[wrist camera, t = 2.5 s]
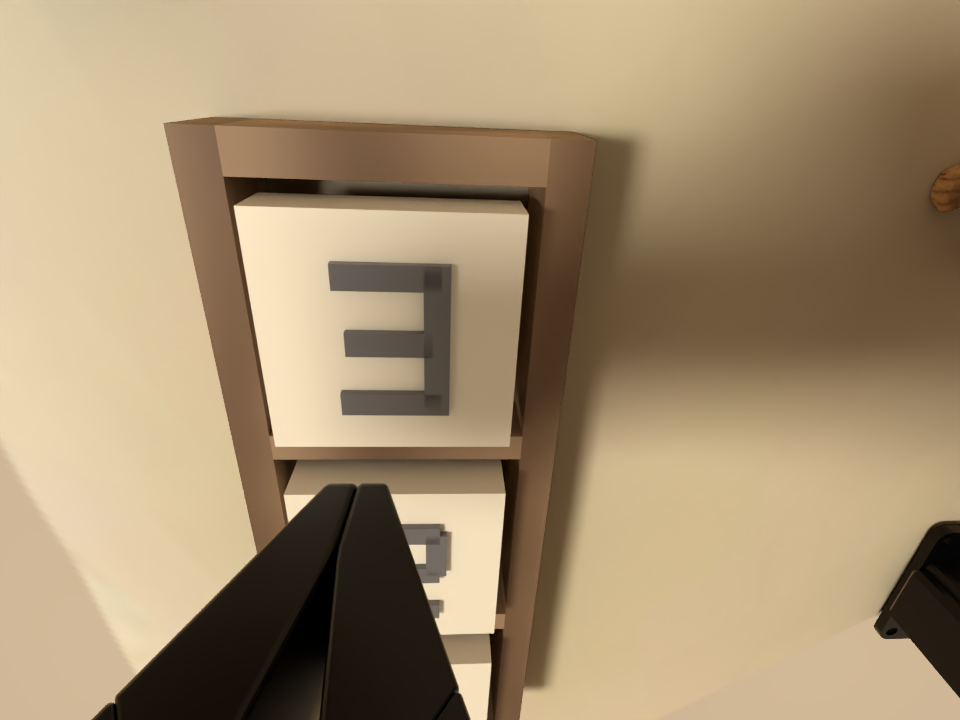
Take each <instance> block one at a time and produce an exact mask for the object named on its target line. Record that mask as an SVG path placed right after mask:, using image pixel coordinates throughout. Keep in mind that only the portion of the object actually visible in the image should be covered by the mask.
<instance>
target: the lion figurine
mask: <svg viewBox="0 0 960 720" xmlns="http://www.w3.org/2000/svg"><path fill="white" fill-rule="evenodd" d="M930 197H931V200H932V202H933V203H934V205H935V207H936V208H937V209H938V210H939V211H950V210H954V209H956V208H960V165H956V166H953V167H950V168H948V169H947V170H945V171H944V172H942V173H941V175H940V176H939V177H938V178H937V180H936V181H935V183H934V185H933V188H932V190H931V194H930Z"/></svg>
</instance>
